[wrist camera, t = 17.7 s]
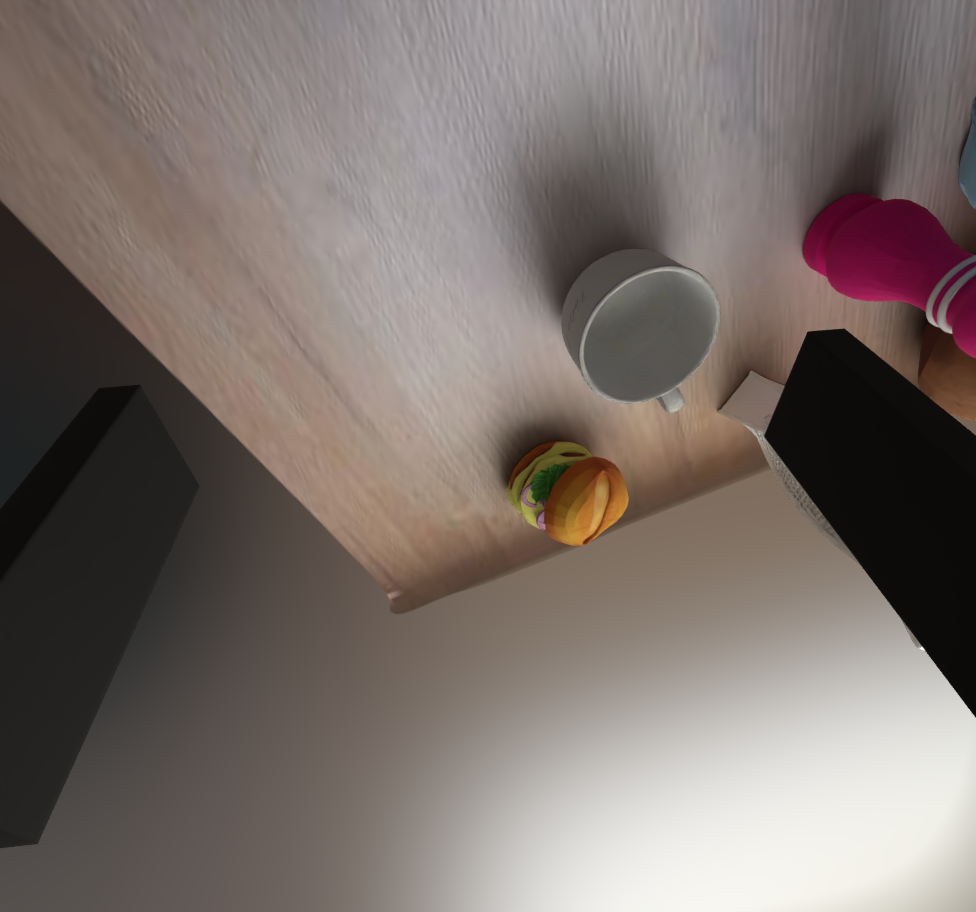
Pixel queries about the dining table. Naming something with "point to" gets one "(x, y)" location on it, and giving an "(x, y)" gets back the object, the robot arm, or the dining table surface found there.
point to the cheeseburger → (568, 492)
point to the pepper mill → (896, 260)
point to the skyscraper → (755, 412)
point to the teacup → (640, 326)
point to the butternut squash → (947, 373)
